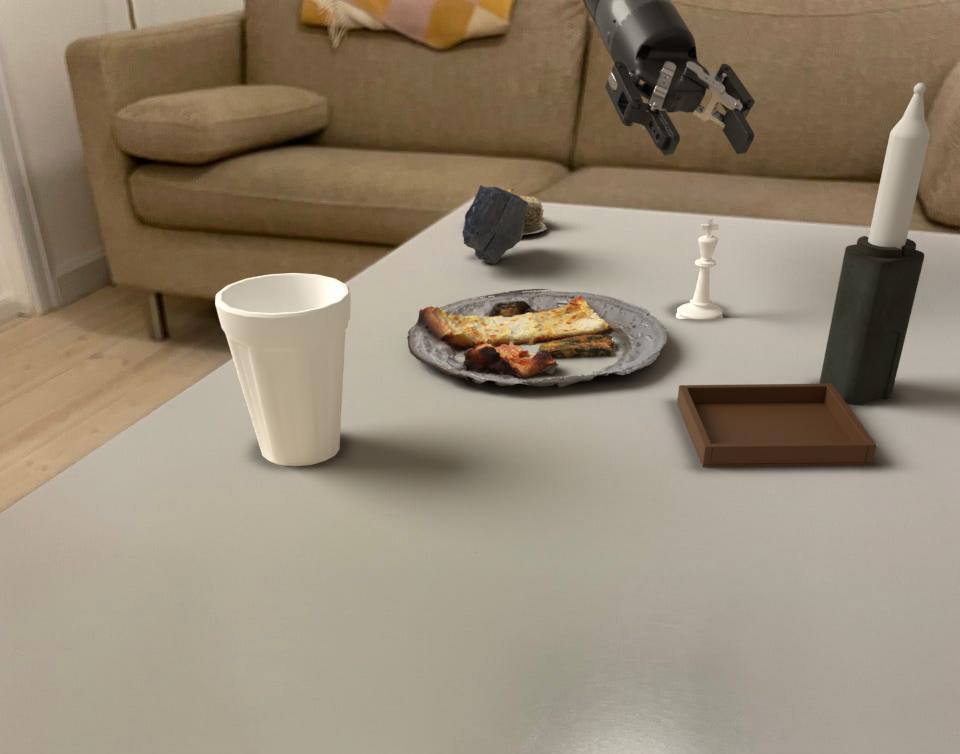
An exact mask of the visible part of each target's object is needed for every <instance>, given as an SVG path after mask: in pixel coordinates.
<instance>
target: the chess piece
mask: <svg viewBox="0 0 960 754" xmlns="http://www.w3.org/2000/svg"><path fill="white" fill-rule="evenodd" d="M713 222H714V217H708V219H707V223H701V224H700V230H701V231H706V234H704V235H701V236H699V237H698V239H697V242H698V246H699V253H700V257H699V258H697V259H696V260H695V262H694V264H695V266H697V267H700V268H699V271H698V272H699V273H698V278H697V282H696V286H695V290H694V294H693V297H692V298H691V299H690V300H689V302H687V303H683V304H681V305H679V307H677V309H676V313H675V317H676V319H678V320H686V319H688V320H690V319H691V320H698V321H699V320H702V321H703V320H706V321H707V320H713V319H724V316H723V314H724V311H723V309H722V308H721V307H719V306H718V305H716V304H713V300H711V297H710V268H712V267H716V265H717V261H716V259H712V256H713V254H714V253H715V249H716V248H717V245H718V243H719V238H718V237H717V236H715V235H713V234H712V231H719V224H714V223H713Z"/></svg>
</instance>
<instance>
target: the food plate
mask: <svg viewBox="0 0 960 754" xmlns="http://www.w3.org/2000/svg"><path fill="white" fill-rule="evenodd" d="M664 326H665V324H663V322H662V321H660V320H659V319H658V318H657V317H655V316H654V315H653V314H652V313H651V311H649V310H648V309H647V308H644V307H642V306H638V305H635V304H633V303H630V302H627V301H625V300H624V299H621V298H616V297H612V296H609V295H604V294H598V293H593V292H592V293H591V292H584V291H583V292H582V291H559V290H549V289H548V288H529V289H518V290H509V291H504V292H498V293H492V294H486V295H480V296H476V297H474V298H473V297H472V298H471V297H470V298H465V299H460V300H458V301H454V302H450V303H448V304H445V305H443V306H439V307H438V306H435V307H434V306H431V305H429V306H426V307H424V308H423V309H422V308H421V309H420V310H419V311H418V318H417V321H416V322H415V324H414V325H413V326H411V328H409V330H408V332H407V334H408V335H407V336H406V337H407V338H406V339H407V346H408V347H407V348H408V349H409V353H410V354H411V355H412V356H413V357H414V358H415V359H416V360H418V361H419V362H421V363H423V364H425V365H428V366H430V367H433V368H435V369H438V370H439V371H440V372H442V373H443V374H445V375H446V376H454V377H455V378H457V379H458V378H459V379H465V381H466V382H465V384H468V383H469V379H468V378H470V379H471V380H472V382H473V383H475V384H483V383H484V382H487V381H492V382H494V384H495V386H500V387H504V386H505V387H506V386H514V385H517V384H518V385H520V384H521V385H527V386H531V387H552V386H555V385H557V388H564V387H568V386H571V385H574V384H576V383H580V382H589V381H591V380H592V379H594V377H597V376H609V375H610V374H611V375H612V374H615V375H621V376H626V375H628V374H631V373H633V372H635V371H638V370H641V369H642V368H645V367H648V366H650V365H652V364H653V363H654V362H656V361H657V358H658V357H659V356H660V355H661V350H662V349H663V347H664V346H665V344H666V343H667V339H668V337H667V327H664ZM612 339H613V340H612ZM615 343H616V344H617V345H618V346H619V347H620V348H621V352H622V353H621V354H620V357H618V358H617V361H616V362H614V363H612V364H610V365H607V366H605V367H602V368H601V369H600V370H596V371H592V373H589V374H587V375H586V374H585V375H584V374H581V375H578V374H576V375H571V376H570V375H569V376H562V377H548V378H543V379H542V380H539V379H534V380H532V378H537V377H540V376H542V375H549V374H554V373H555V369H556V368H557V367H558V366H559V363H557V360H554V359H553V358H571V359H573V358H594V357H595V358H598V357H609V358H612V357H614V355H612V354H613V352H616V351H617V350H616V347H617V346H616V344H615ZM536 344H539V348H538V350H537V351H536V353H534V352H530V351H529V350H527V349H526V350H525V349H524V348H523V347H522V345H524V346H530V347H531V346H533V345H534V346H536ZM461 351H465V352H461ZM454 355H456V356H455V357H456V358H464V361H463V364H462V363H460V362H459V360H458V359H456V358H455V357H454ZM560 360H561V359H560ZM563 361H564V360H562V362H563ZM526 379H531V380H526Z"/></svg>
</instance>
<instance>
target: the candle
mask: <svg viewBox="0 0 960 754" xmlns="http://www.w3.org/2000/svg"><path fill="white" fill-rule="evenodd" d="M926 90H927V88H926V85H925V83H923V82H918V83H917V84H916V85H915V86H914V87H913V95H912V97H911V99H910V102H909V103H908V105H907V107H906V109H905V111H904V113H903V114H902V117H901V119H899V121H898V122H897V123H896V124H895V125H894V127H893V128H892V129H891V130H890V132H889V137H888V142H887V146H886V151H885V156H884V161H883V165H882V171H881V175H880V181H879V184H878V190H877V196H876V200H875V205H874V209H873V215H872V219H871V225H870V229H869V234H868V236H866V235H863V236H860V237H858V238H857V240H856V243H855V244H849V245H847V246H846V247H845V248H844V252H843V253H844V254H843V258H842V263H841V269H840V274H839V279H838V284H837V290H836V294H835V299H834V300H835V301H834V305H833V311H832V316H831V321H830V326H829V333H828V337H827V342H826V347H825V352H824V357H823V362H822V366H821V367H822V368H821V373H820V377H819V383H818V384H829V383H832V384H833V386H834V387H835V388H836V390H837V391H838V393H839V394H840V395H841V397H842V398H843V399H844V401H845V402H846V404H847V405H848V406H849V405H850V406H862V405H863V404H866V403H871V402H877V401H881V400H884V401H885V400H890V399H891V398H892V394H893V390H894V386H895V383H896V378H897V374H898V370H899V365H900V361H901V358H902V353H903V349H904V344H905V340H906V336H907V331H908V328H909V323H910V319H911V314H912V310H913V306H914V302H915V298H916V294H917V290H918V286H919V281H920V277H921V273H922V269H923V264H924V260H925V253H924V252H922V251H921V250H918V249H917V243H916V242H915V241H914V240H913V239H911V238H908V235H909V231H910V225H911V221H912V218H913V217H912V216H913V213H914V209H915V205H916V200H917V195H918V190H919V186H920V182H921V176H922V173H923V168H924V164H925V160H926V156H927V151H928V146H929V141H930V138H931V132H930V129H929V127H928V124H927V122H926V117H925V104H924V93H925V92H926Z"/></svg>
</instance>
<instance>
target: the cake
mask: <svg viewBox="0 0 960 754" xmlns="http://www.w3.org/2000/svg"><path fill="white" fill-rule="evenodd" d="M507 191H508V192H510V193H512V194H514V195H515V188H513V187H511V188H509V189H507ZM519 197H521V199H523V200H525V201H527V202H528V205H527V210H526V215H525V219H524V230H523V234H522V236H526V235H532V234H538V233H540V232H544V231H546V230H548V227H547V225H546V224H545V223H544V220H545V217H544V209H543V207H544V206H543V204H542V202H541V201H540V200H539V198H536V197H534V196H525V195H519Z"/></svg>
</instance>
